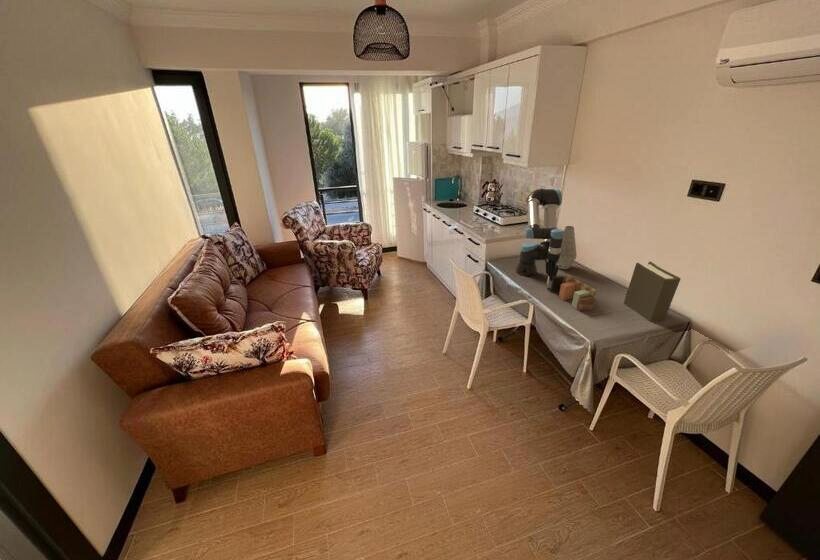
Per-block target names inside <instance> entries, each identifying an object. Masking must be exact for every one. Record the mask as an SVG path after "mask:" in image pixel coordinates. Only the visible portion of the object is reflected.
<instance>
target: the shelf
mask: <svg viewBox="0 0 820 560" xmlns="http://www.w3.org/2000/svg"><path fill="white" fill-rule="evenodd" d="M568 282H573V283H574V284H576V287H575V292H576V291H580V290H587V291H589V292H590V295H589V296H585V297H581V298H578V303H577V307H576V308H575V310H576V311H578V312H583V311H584V312H585V311H589V310H593V308H594V305H595V299H596V295H597V294H596V292H597V289H596V288H595V289H594V287H591V286H590V285H588V284H586V283H584V282H582V281H581V280H578V279H577V278H576V277H573V276H571V275H570V274H566V275H565V280H564V283H568Z"/></svg>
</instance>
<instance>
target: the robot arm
mask: <svg viewBox="0 0 820 560" xmlns="http://www.w3.org/2000/svg"><path fill="white" fill-rule="evenodd" d="M525 200H526V201H525V206H526V207H527V222H528V223H527V225H528V227H526V228H525V232H524V234H525V235H524V236H525V238H526V239H531V240H542V241H540V242H539V243H540V244H539V243H538V242H536V241H526V242H524V243H522V244H521V246H520V252H519V262H518V263H517V265H516V268H515V272H516V273H517V274H518V275H520V276H525V277H532V276H535V275H537V273H538V270H537V264H536V262H537V261H543V262H545V274H547V276H546V278H547V279H546V280H547V281H546V285H547V286H549V285H552V279H553V278H555V277H557V275H558V272H559V270H560V269H559V267H560V266H561V265H559V264H558V259H559V258H560V253H561V246H562V241H563V237H564V229H561V228H557V227H556V226H557V212H558V209H559V208H560V206H561V205H562V202H563V194H562V191H561V189H556V188H551V189H549V188H545V189H544V188H538V189H535V190H533V191H532V192H530V193H529V194H528V195H527V198H526V199H525ZM540 206H541V207H542V209H543V227H541V223H540V221H541V220H540Z"/></svg>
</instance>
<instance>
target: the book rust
mask: <svg viewBox="0 0 820 560" xmlns="http://www.w3.org/2000/svg"><path fill="white" fill-rule="evenodd" d="M575 287H576V284H574V283H573V282H568V283H565V282H564V283H562V284H561V288H560V290H559V294H558V298H559V299H560V300H562V301H566V300H570V299H573V296H574V292H575Z"/></svg>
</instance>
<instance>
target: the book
mask: <svg viewBox="0 0 820 560" xmlns="http://www.w3.org/2000/svg"><path fill="white" fill-rule="evenodd" d="M681 279H682V278H681V277H679V276H677V275H675V274H672V273H671V272H669V271H667V270H665V269H663V268H662V267H660V266H658V265H656V264H655V263H654V262H652V261H648V263H647V264H641V263H640V262H636V263H635V266H634V270H633V272H632V276H631V278H630V282H629V285H628V288H627V290H626V294H625V299H624V302H623V304H624V305H626V306H628V307H629V308H631V309H632V310H633V311H635V312H637V313H638V314H639V315H640V316H642V317H643V318H645V319H646V321H648V322H653V323H658V322H662V320H663V321H665V320H666V318H667V314H668V312H669V309H670V307H671V304H672V303H673V299H674V297H675V294H676V291H677V289H678V287H679V284H680V282H681ZM657 321H658V322H657Z"/></svg>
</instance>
